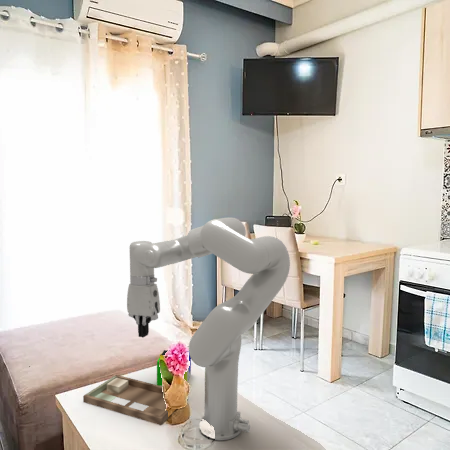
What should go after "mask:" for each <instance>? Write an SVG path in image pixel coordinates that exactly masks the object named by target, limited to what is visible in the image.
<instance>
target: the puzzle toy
mask: <svg viewBox="0 0 450 450" xmlns="http://www.w3.org/2000/svg"><path fill="white" fill-rule="evenodd" d="M167 351H168V350H165V349H164V350H163V351H162V353H161V355H165V353H166V352H167ZM159 360H160V357H159V358H158V360H157V361H156V385H159V386H162V378H161V373H160V367H159ZM189 361H190V366H189V368H188V371H187V372H185V374H184V379H185V380H186V381H189V380H190V379H189V378H190V376H191V374H192V372H191V371H192V369H191V368H192V359H191V357H190V355H189ZM162 387H163V386H162Z"/></svg>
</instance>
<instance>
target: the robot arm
mask: <svg viewBox="0 0 450 450" xmlns="http://www.w3.org/2000/svg"><path fill="white" fill-rule="evenodd" d="M246 234H247V230H246V226H245V224H244V223H243V222H242V221H241V220H240V219H238V218H237V217H236V218H235V217H221V218H214V219H211V220H208V221H207V222H206V223H204V225H201V226H198V227H195V228H192V229H190V230H189V231H188V233H187V235H184V236H181V237H179V238H178V237H177V238H174V239H170V240H164V241H160V242H151V241H147V240H137V241H132V242H131V243H130V244H129V279H130V280H129V282H130V283H129V284H128V288H127V295H126V309H127V310H126V311H127V313H128V315H127V316H128V317H130V318H132V319H134V321H135V323H136V325H137V331H138V337H139V338H145V337H147V336H149V331H150V330H149V329H150V328H149V325H150V323H151V322H152V321H156V320H158V319H159V315H158V314H159V313H160V312H161V300H160V292H159V288H158V284H157V283H156V282H157V281H158V278H157V277H155V269H158V268H159V269H160V268H162V267H165V266H170V265H174V264H178V263H181V262H184V261H187V260H192V259H195V258H198V259H199V258H202V257H206V256H209V255H212V254H213V255H214V256H215V257H217V258H219V259H221V260H222V261H224V262H225V263H227V264H229V265H231V266H232V267H234V268H235V269H237V270H239V271H240V272H243V273H245V274H248V275H249V274H252V275H251V276H250V277H248V279H247V280H246V281H245V283H244V284H243V286H242V287H241V289H240V290H239V291H238V292H237V293H236V294H235V296H232V297H231V298H229V299H228V300H225V301H224V302H222V303H219V304H218V305H217V306H215V307H214V308H213V309H212V310H211V311H210V312H209V314H208V315H206V317H205V319H204V320H203V321H202V323H201V324H200V325H199V327H198V328H197V329H196V331H195V332H194V334H193V335H192V337H191V339H190V340H189V343H188V352H189V355H190V357H191V362H193V363H194V364H195V365H196V366H197V367H202V368H204V411H203V412H204V415H203V417H202V418H201V419H204V420H206V421H207V422H208V423H209V424H210V425H212V426H213V427H214V430H215V441H227V440H228V441H229V440H232V439H233V438H236V437H238V436H239V435H240V434H241V433H242V432H245V433H249V432H250V429H251V425H250V421H249V419H244V418H242V417H241V412H240V411H238V388H239V387H238V386H239V385H238V384H239V383H238V381H239V362H240V361H239V360H240V353H241V349H242V348H241V347H242V335H243V334H245V333H247V331H249V330H250V329H252V328H253V327H254V326H255V324H256V323H257V321H258V320H259V318H260V317H261V315H262V314H263V313H264V312H265V311H266V309H267V308H268V307H269V306H270V304H271V303H272V302H273V300H274V299H275V297H277V295H278V293H279V292H280V291H281V290H282V288H283V286H284V285H285V284H286V281H287V279H288V276H289V274H290V269H291V260H290V254H289V250H288V249H287V247H286V245H285V243H284V242H283V241H282V240H281V239H279V238H278V237H275V236H269V235H266V236H260V237H256V238H248V237H247V236H246Z"/></svg>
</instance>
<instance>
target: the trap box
mask: <svg viewBox="0 0 450 450" xmlns="http://www.w3.org/2000/svg"><path fill="white" fill-rule="evenodd" d="M115 378H120V379H124V380H128V388H127V389H126V390H124V391H123V392H122V393H120V394H115V393H112V392H108V391H107V383H109V382H111V381H112V380H114V379H115ZM162 387H163V386H159V385H157V384H154V383H150V382H147V381H142V380H140V379H139V380H138V379H135V378H132V377H128V376H127V377H126V376H123V375H119V374H115V375H114V376H112V377H110V378H108V380H106V381H104V382H103V383H101V384H100V385H98V386H97V387H95V388H93V389H92V390H89V392H87V393H86V394H84V395H83V403H86V404H89V405H91V406H95V407H99V408H101V409H106V410H109V411H112V412H114V413H118V414H121V415H124V416H125V415H126V416H129V417H132V418H134V419H138V420H142V421H146V422H148V423H151V424H155V425H159V426H162V425H163V424H164V423H165V422H166V421H167V420H168V419H169V418H168V411H167V410H166V411H165V409H166V404H165V401H164V398H163V392H162ZM117 398H118V399H122V400H125V401H128V402H127V403H126V404H125V405H123V404H120V403H117V402H113V400H115V399H117ZM134 403H136V404H140V405H144V406H147V407H146V408H145V409H144V410H140V409H137V408H134V407H130V406H131V405H133V404H134Z"/></svg>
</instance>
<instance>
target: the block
mask: <svg viewBox="0 0 450 450" xmlns="http://www.w3.org/2000/svg"><path fill="white" fill-rule="evenodd" d="M127 388H128V380H124V379H120V378H115V379H114V380H112V381H111V382H109V383H107V391H108V392H112V393H115V394H120V393H122V392H123V391H124V390H126V389H127Z"/></svg>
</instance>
